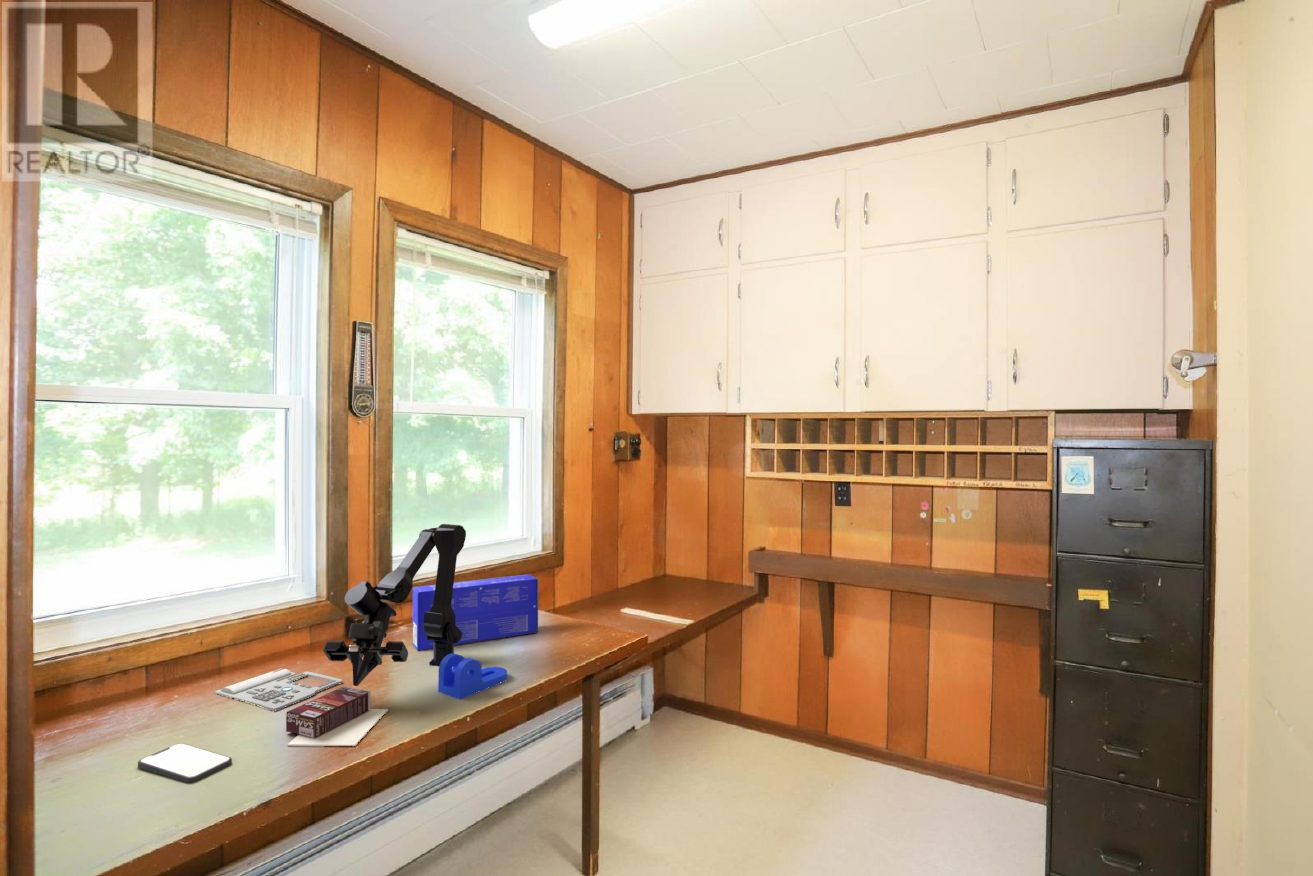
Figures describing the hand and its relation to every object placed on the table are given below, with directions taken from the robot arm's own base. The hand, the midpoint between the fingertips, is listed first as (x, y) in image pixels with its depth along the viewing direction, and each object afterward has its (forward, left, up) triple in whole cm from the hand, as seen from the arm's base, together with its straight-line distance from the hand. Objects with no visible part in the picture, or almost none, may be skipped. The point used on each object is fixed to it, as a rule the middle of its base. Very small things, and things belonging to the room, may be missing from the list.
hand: (355, 685), depth 154 cm
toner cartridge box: (-58, +14, -7) cm, 60 cm away
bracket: (-19, +24, -7) cm, 31 cm away
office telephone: (-15, -25, -7) cm, 30 cm away
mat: (+7, 0, -7) cm, 10 cm away
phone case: (+24, -23, -7) cm, 34 cm away
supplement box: (-3, 0, -4) cm, 5 cm away
